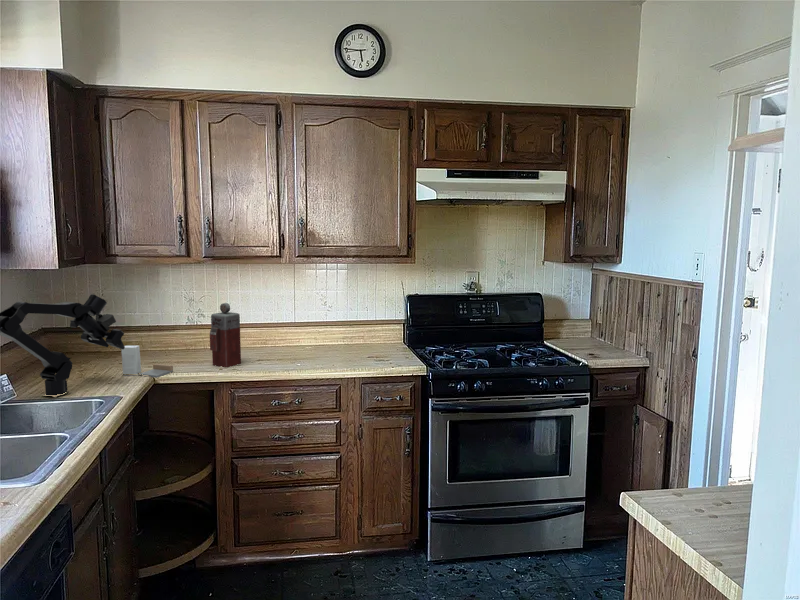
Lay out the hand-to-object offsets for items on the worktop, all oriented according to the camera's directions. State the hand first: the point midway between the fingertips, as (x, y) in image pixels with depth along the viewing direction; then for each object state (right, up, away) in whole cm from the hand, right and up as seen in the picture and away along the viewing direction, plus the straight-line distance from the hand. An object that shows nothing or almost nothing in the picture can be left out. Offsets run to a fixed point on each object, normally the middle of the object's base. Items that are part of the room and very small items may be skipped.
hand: (115, 347), depth 233 cm
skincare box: (+3, -12, +8) cm, 15 cm away
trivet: (+13, -12, +9) cm, 20 cm away
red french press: (+37, -10, +26) cm, 46 cm away
